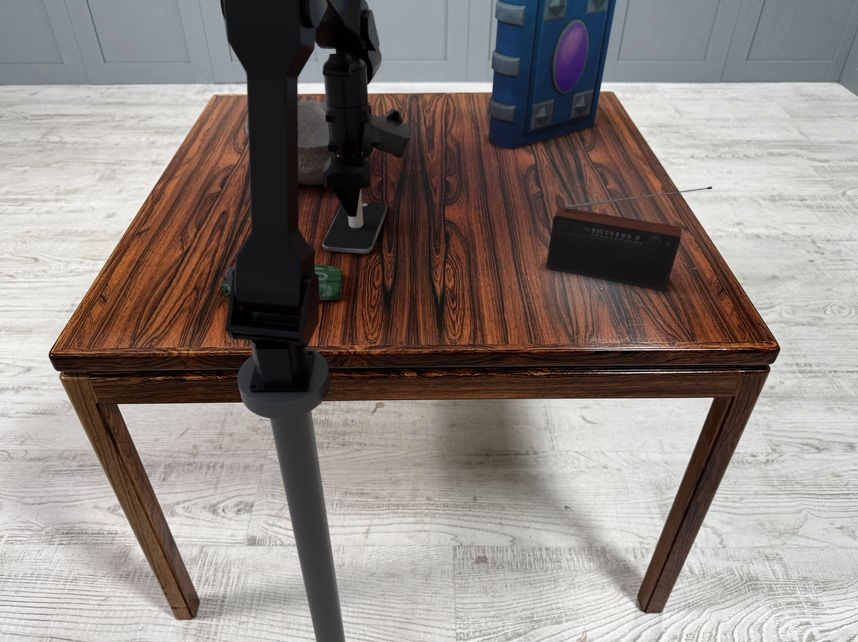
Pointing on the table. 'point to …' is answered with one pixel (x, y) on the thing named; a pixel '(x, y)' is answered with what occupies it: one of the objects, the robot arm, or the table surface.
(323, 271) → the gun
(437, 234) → the table surface
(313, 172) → the bowl
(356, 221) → the white cylinder
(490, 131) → the book
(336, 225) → the smartphone
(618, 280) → the radio
